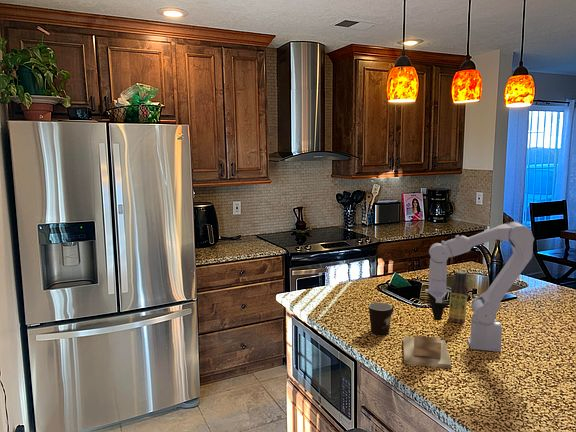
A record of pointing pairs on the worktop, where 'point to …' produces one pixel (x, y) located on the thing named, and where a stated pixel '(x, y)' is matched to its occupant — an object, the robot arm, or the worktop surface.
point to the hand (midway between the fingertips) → (436, 316)
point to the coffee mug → (380, 318)
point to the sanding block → (427, 347)
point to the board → (410, 359)
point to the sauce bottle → (458, 298)
